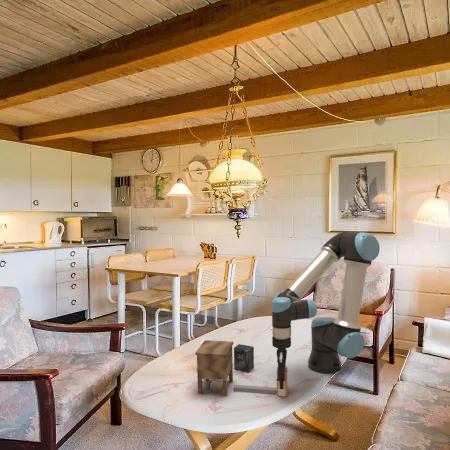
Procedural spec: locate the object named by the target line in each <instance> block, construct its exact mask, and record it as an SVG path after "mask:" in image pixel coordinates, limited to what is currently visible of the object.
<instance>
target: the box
mask: <svg viewBox="0 0 450 450" xmlns="http://www.w3.org/2000/svg"><path fill="white" fill-rule="evenodd" d="M254 349H255V348H254V346H252V345H246V344H241V343H239V344H237V345H235V346H234V347H233V370H237V371H242V372H246V373H250V372H251V371H252V370H253V369H254V368H255V360H254V359H255V357H254V356H255V354H254V352H255V351H254Z"/></svg>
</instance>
